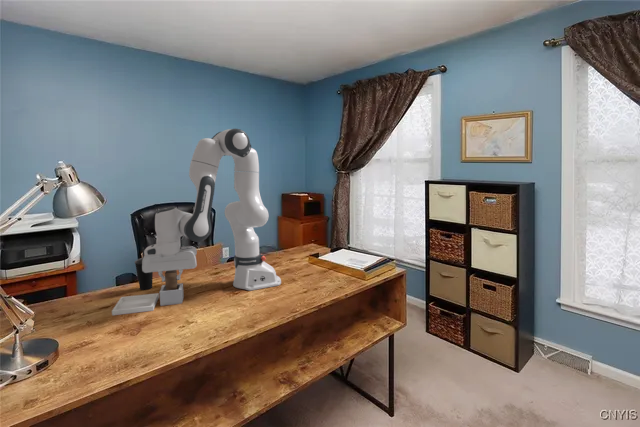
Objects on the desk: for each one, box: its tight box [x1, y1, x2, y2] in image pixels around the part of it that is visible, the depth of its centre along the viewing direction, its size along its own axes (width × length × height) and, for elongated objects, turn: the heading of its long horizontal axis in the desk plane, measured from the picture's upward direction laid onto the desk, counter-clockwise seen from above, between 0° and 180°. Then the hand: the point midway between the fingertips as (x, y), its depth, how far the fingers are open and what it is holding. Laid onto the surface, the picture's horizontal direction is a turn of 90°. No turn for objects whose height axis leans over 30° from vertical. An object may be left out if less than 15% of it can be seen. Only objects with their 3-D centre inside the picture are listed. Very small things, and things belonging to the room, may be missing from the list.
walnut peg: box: [164, 270, 179, 291], centre depth 140 cm, size 4×4×12 cm
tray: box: [111, 292, 160, 316], centre depth 136 cm, size 14×14×2 cm
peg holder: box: [159, 283, 184, 307], centre depth 141 cm, size 8×8×6 cm
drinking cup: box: [134, 246, 154, 291], centre depth 154 cm, size 8×8×20 cm
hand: (171, 280), depth 140 cm, fingers closed on walnut peg, 4 cm apart
